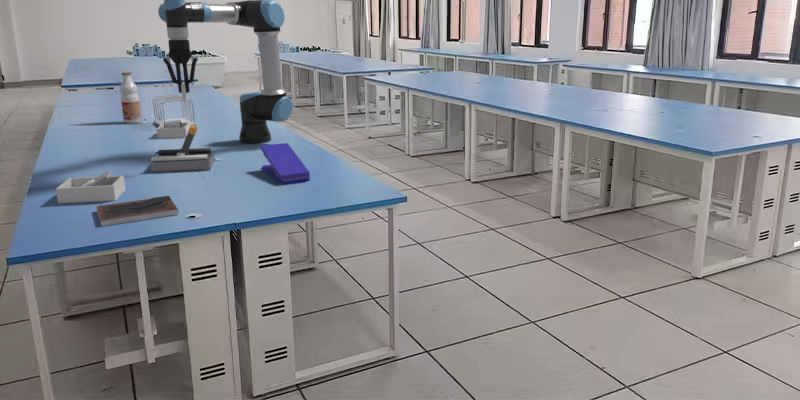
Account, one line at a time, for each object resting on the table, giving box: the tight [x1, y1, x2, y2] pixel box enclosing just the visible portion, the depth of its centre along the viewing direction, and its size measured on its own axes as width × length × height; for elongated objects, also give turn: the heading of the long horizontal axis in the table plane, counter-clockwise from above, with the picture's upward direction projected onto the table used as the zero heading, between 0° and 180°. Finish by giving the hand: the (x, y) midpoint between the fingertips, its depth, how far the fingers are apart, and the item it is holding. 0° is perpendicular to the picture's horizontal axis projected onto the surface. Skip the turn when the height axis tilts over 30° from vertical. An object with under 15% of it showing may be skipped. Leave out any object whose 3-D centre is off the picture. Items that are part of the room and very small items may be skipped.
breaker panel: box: [150, 147, 216, 174], centre depth 245 cm, size 22×16×6 cm
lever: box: [181, 125, 199, 154], centre depth 244 cm, size 3×7×13 cm, turn 11°
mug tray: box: [156, 122, 190, 140], centre depth 309 cm, size 14×16×5 cm
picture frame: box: [96, 195, 180, 227], centre depth 189 cm, size 16×2×22 cm
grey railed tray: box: [150, 147, 212, 162], centre depth 245 cm, size 21×15×2 cm
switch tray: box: [55, 175, 126, 204], centre depth 206 cm, size 18×14×5 cm
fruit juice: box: [119, 71, 143, 125], centre depth 343 cm, size 9×9×28 cm
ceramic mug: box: [164, 120, 182, 128], centre depth 307 cm, size 11×8×8 cm
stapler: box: [260, 142, 311, 185], centre depth 232 cm, size 12×28×10 cm, turn 29°
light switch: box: [82, 170, 112, 187], centre depth 205 cm, size 8×6×14 cm
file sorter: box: [152, 94, 198, 127], centre depth 336 cm, size 25×17×16 cm
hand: (185, 101), depth 239 cm, fingers closed
